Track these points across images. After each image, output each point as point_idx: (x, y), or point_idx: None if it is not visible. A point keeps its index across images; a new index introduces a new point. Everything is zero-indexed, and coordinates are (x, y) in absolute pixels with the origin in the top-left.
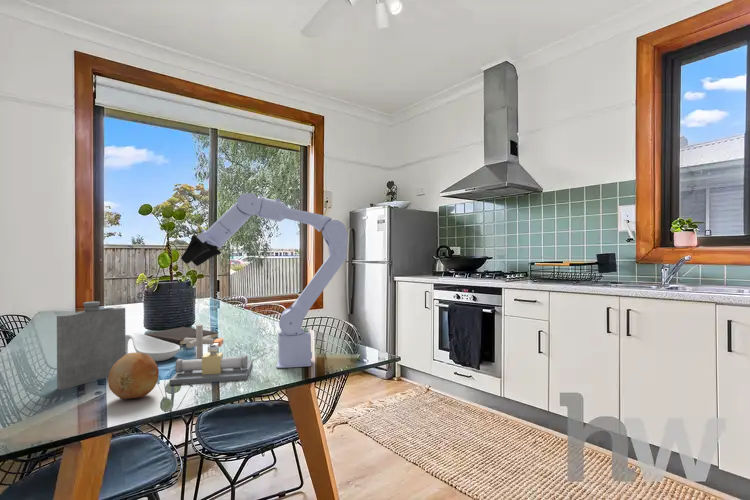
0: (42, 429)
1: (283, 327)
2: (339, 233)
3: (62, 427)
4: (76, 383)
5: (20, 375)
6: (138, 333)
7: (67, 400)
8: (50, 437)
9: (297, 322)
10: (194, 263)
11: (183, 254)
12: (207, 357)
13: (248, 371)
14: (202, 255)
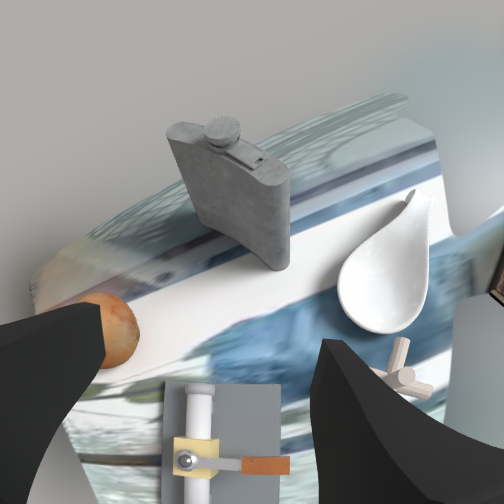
0: (61, 273)
1: None
2: None
3: (57, 291)
4: (212, 226)
5: (293, 137)
6: (429, 215)
7: (144, 251)
8: (40, 291)
9: None
10: (317, 368)
11: (57, 310)
12: (174, 448)
13: None
14: (336, 439)
